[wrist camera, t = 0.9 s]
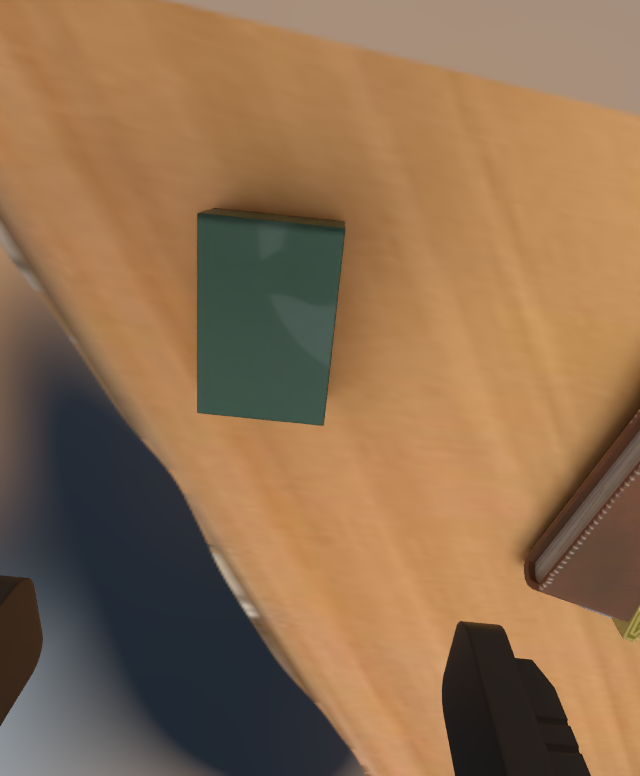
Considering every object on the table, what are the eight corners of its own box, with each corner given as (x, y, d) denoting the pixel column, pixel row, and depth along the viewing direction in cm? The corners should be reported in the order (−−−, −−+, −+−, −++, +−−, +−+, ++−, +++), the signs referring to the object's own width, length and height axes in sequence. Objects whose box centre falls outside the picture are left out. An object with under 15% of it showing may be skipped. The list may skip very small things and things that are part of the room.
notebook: (213, 207, 23) (197, 212, 21) (344, 221, 23) (345, 227, 21) (211, 388, 27) (196, 413, 24) (325, 399, 27) (323, 426, 24)
